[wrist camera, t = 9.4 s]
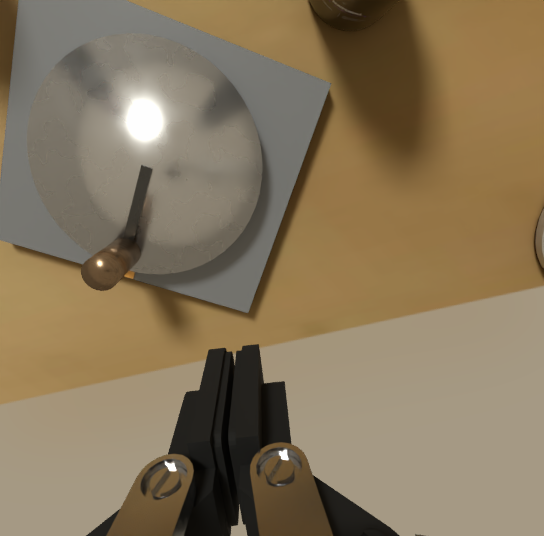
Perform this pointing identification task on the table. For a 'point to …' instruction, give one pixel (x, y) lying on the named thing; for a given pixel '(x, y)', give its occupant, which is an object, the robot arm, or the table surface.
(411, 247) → the table surface
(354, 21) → the supplement bottle
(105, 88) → the dial
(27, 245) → the base plate
